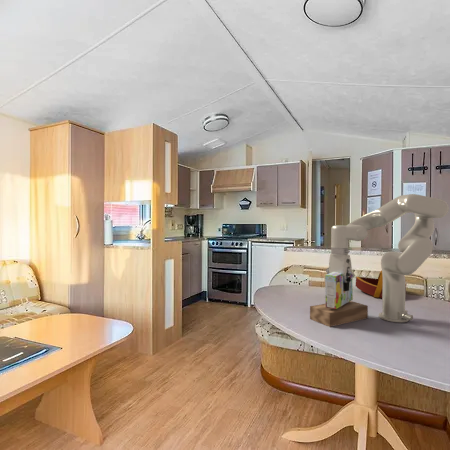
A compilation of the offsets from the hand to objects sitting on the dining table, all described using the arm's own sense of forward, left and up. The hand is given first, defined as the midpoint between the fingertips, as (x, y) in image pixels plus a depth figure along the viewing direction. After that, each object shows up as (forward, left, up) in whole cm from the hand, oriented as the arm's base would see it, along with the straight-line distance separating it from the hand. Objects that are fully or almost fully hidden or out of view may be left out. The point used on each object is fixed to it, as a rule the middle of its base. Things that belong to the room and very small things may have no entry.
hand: (339, 288), depth 146 cm
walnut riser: (0, 0, -14) cm, 14 cm away
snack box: (0, 0, -7) cm, 7 cm away
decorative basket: (+24, -64, -15) cm, 69 cm away
